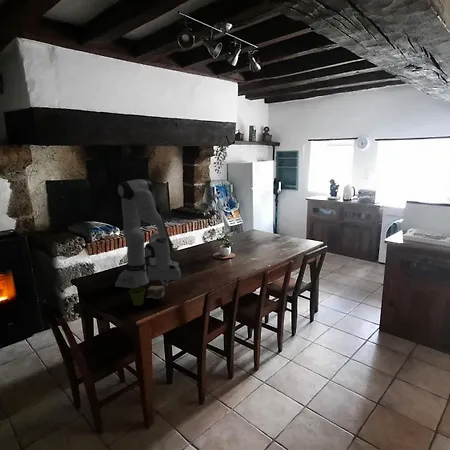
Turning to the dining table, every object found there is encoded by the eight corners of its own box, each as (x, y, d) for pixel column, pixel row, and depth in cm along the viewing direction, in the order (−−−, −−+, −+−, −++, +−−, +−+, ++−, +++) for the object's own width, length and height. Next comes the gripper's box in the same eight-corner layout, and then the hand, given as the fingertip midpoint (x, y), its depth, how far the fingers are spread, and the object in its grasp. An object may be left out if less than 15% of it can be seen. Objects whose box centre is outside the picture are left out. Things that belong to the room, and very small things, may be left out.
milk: (152, 268, 249) (149, 235, 243) (149, 264, 260) (146, 232, 254) (167, 266, 254) (165, 233, 248) (164, 261, 264) (162, 230, 258)
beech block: (162, 297, 201) (148, 296, 202) (164, 293, 206) (151, 293, 207) (161, 289, 200) (147, 289, 201) (164, 286, 204) (150, 285, 205)
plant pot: (136, 309, 187) (134, 295, 185) (127, 304, 193) (125, 290, 191) (149, 303, 194) (148, 289, 192) (140, 298, 200) (139, 285, 198)
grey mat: (145, 298, 200) (145, 298, 200) (149, 292, 208) (149, 292, 208) (160, 298, 199) (160, 298, 199) (163, 292, 207) (163, 292, 207)
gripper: (145, 266, 196) (147, 288, 199) (178, 266, 194) (180, 288, 198) (148, 263, 202) (150, 283, 205) (180, 262, 201) (182, 283, 204)
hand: (165, 285), depth 201 cm, fingers closed
